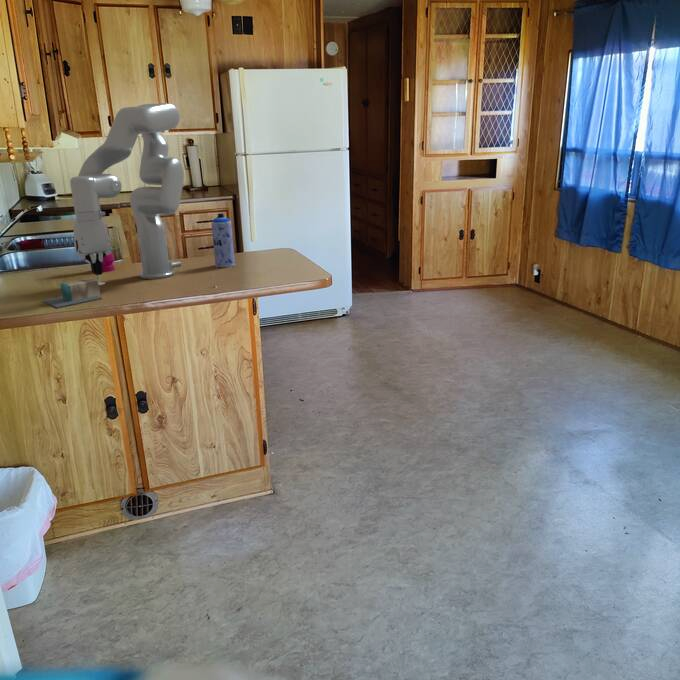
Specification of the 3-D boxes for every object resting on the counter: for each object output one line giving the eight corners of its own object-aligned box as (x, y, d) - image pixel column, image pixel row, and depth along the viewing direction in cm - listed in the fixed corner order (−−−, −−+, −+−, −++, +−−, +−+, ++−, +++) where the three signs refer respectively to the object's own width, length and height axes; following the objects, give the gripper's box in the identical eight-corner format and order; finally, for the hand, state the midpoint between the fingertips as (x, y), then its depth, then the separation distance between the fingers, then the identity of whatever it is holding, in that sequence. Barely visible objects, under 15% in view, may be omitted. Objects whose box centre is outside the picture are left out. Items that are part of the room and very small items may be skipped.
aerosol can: (210, 266, 235) (205, 214, 229) (225, 262, 241) (220, 211, 235) (225, 268, 231) (220, 215, 224) (239, 264, 237) (235, 212, 230)
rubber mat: (86, 292, 201) (86, 291, 201) (101, 298, 193) (101, 297, 193) (42, 301, 192) (42, 300, 192) (57, 308, 184) (56, 307, 184)
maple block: (91, 277, 198) (60, 283, 191) (97, 280, 194) (66, 286, 188) (93, 292, 199) (63, 299, 193) (100, 295, 196) (69, 301, 189)
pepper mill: (118, 270, 234) (110, 218, 227) (98, 273, 230) (90, 220, 224) (113, 267, 240) (105, 216, 233) (94, 270, 236) (85, 218, 229)
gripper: (106, 213, 198) (114, 268, 204) (60, 218, 188) (70, 276, 194) (116, 215, 193) (125, 271, 199) (69, 220, 183) (79, 279, 189)
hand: (97, 274), depth 196 cm, fingers closed
